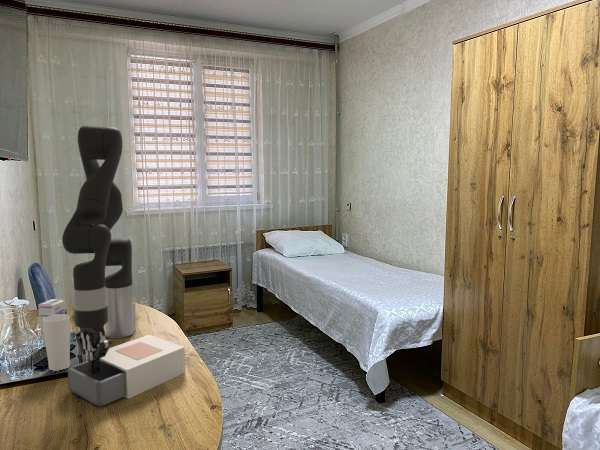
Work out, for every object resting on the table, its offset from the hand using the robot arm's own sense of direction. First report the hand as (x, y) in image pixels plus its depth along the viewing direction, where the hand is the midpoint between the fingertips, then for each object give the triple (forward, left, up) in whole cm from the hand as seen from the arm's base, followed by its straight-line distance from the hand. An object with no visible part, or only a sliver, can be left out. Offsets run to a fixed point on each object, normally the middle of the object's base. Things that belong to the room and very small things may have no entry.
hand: (94, 372), depth 113 cm
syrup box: (-25, -35, -6) cm, 43 cm away
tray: (-6, +2, -6) cm, 8 cm away
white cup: (-11, -21, -6) cm, 24 cm away
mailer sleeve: (-12, +5, -6) cm, 14 cm away
